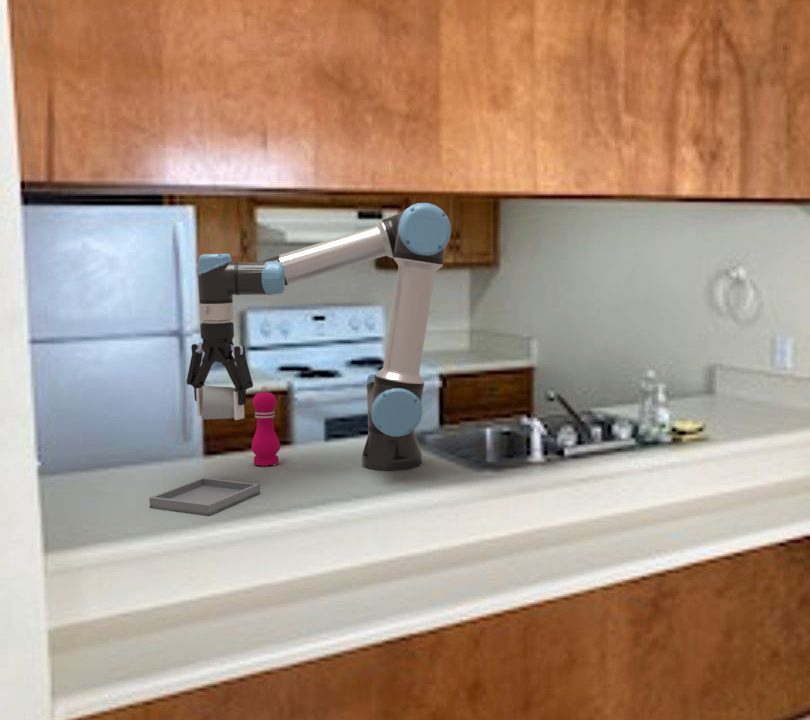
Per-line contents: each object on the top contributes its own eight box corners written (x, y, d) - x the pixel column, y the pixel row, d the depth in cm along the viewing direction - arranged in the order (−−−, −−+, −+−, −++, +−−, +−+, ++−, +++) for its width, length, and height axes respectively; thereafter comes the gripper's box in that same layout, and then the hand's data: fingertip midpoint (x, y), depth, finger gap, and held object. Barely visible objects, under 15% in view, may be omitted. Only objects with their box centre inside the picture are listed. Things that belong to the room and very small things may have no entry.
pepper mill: (285, 464, 233) (283, 386, 231) (259, 468, 229) (257, 388, 227) (272, 459, 239) (270, 383, 237) (247, 463, 235) (244, 385, 233)
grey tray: (260, 493, 206) (259, 484, 206) (209, 515, 190) (209, 505, 190) (203, 486, 213) (202, 477, 213) (149, 507, 197) (149, 497, 197)
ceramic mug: (239, 420, 209) (238, 387, 208) (202, 422, 208) (201, 388, 207) (239, 412, 220) (238, 381, 219) (204, 414, 218) (203, 382, 217)
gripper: (167, 321, 211) (172, 416, 214) (246, 324, 201) (250, 423, 204) (189, 318, 218) (193, 410, 221) (267, 321, 207) (270, 417, 210)
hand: (220, 416), depth 212 cm, fingers closed on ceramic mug, 10 cm apart
